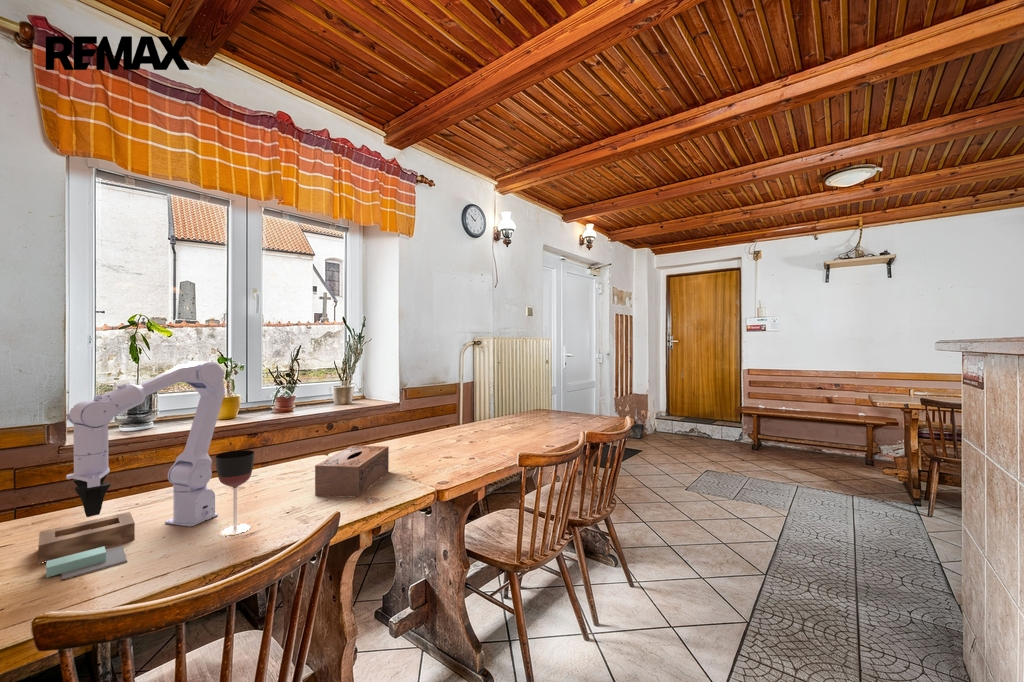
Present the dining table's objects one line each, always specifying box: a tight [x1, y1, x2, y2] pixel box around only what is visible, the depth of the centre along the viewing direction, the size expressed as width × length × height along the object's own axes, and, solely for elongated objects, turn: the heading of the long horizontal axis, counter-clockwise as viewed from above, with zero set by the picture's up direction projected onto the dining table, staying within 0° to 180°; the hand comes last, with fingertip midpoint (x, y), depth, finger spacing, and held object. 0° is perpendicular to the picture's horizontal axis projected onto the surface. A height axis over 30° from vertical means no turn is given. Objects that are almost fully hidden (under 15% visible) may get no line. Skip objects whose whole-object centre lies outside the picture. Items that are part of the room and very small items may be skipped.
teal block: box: [45, 546, 107, 578], centre depth 92 cm, size 9×4×2 cm, turn 138°
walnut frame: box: [37, 511, 136, 565], centre depth 103 cm, size 16×10×4 cm, turn 137°
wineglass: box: [215, 449, 255, 535], centre depth 111 cm, size 8×9×20 cm
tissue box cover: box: [314, 445, 390, 498], centre depth 147 cm, size 26×14×10 cm, turn 175°
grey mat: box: [61, 545, 128, 580], centre depth 94 cm, size 10×10×1 cm
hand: (91, 510), depth 97 cm, fingers open, 7 cm apart
